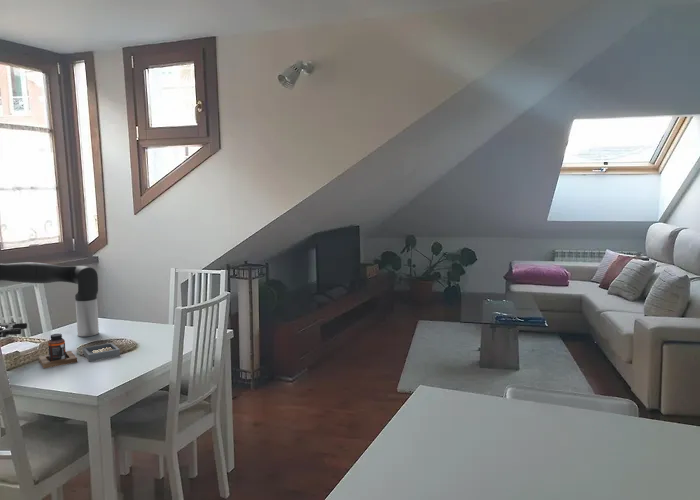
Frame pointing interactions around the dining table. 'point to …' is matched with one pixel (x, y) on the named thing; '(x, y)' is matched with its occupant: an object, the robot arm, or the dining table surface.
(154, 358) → the dining table surface
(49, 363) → the walnut holder
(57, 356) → the supplement bottle
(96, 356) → the parts tray
